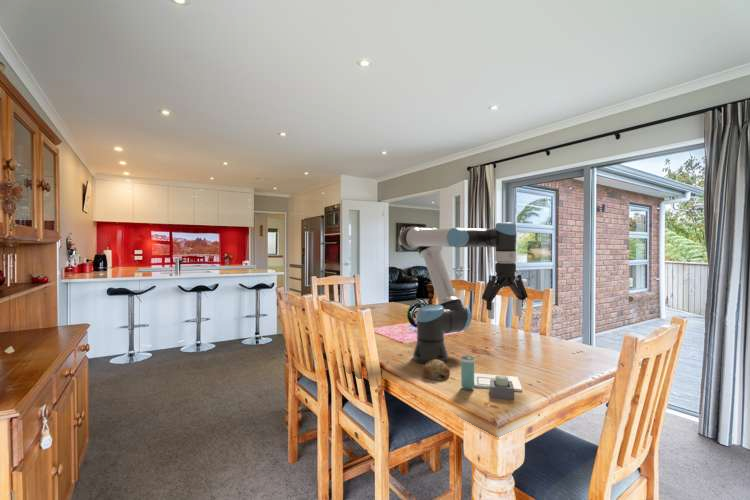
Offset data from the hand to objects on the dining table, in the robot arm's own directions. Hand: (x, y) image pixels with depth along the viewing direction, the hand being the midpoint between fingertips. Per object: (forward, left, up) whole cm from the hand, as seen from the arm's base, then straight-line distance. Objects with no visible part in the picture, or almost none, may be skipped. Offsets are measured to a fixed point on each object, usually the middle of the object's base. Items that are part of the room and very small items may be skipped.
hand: (505, 317), depth 136 cm
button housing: (-3, -20, -22) cm, 30 cm away
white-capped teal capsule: (-14, -18, -22) cm, 32 cm away
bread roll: (-26, -8, -23) cm, 35 cm away
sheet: (-4, -10, -22) cm, 25 cm away
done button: (-3, -20, -20) cm, 29 cm away
